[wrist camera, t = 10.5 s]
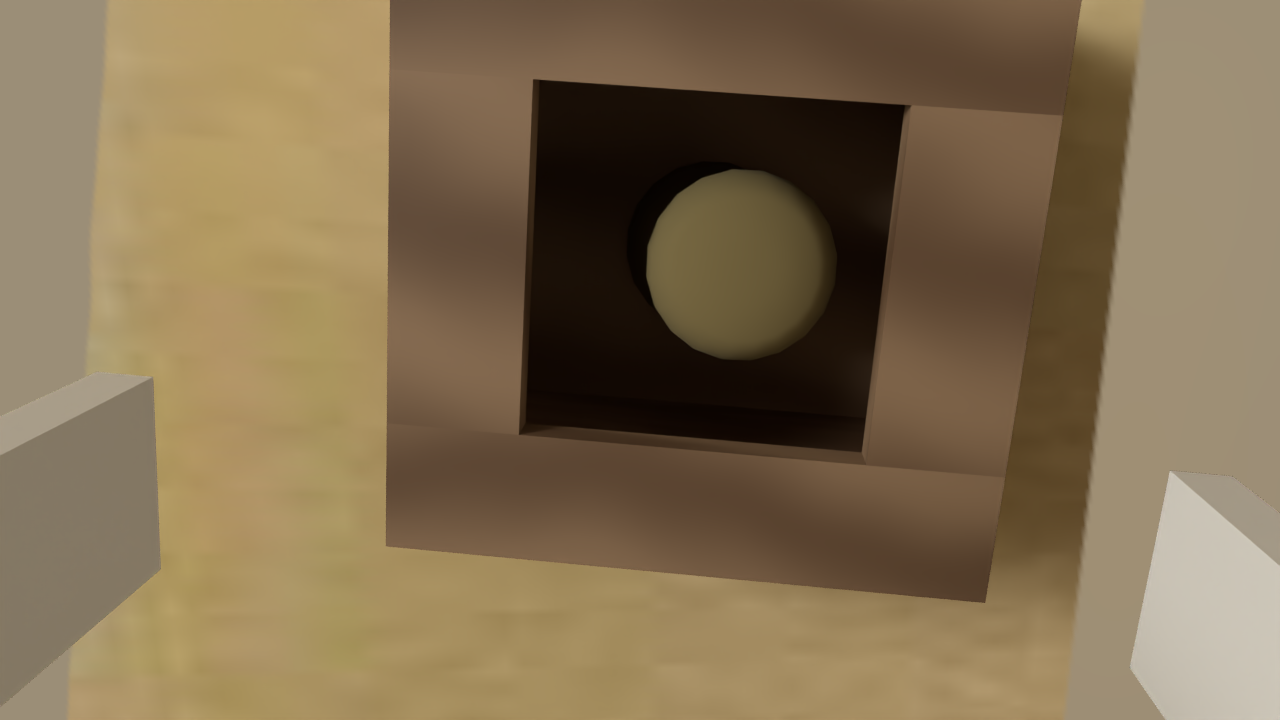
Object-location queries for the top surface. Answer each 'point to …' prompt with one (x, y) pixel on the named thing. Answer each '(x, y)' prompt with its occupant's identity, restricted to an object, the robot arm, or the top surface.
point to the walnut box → (637, 334)
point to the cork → (732, 259)
